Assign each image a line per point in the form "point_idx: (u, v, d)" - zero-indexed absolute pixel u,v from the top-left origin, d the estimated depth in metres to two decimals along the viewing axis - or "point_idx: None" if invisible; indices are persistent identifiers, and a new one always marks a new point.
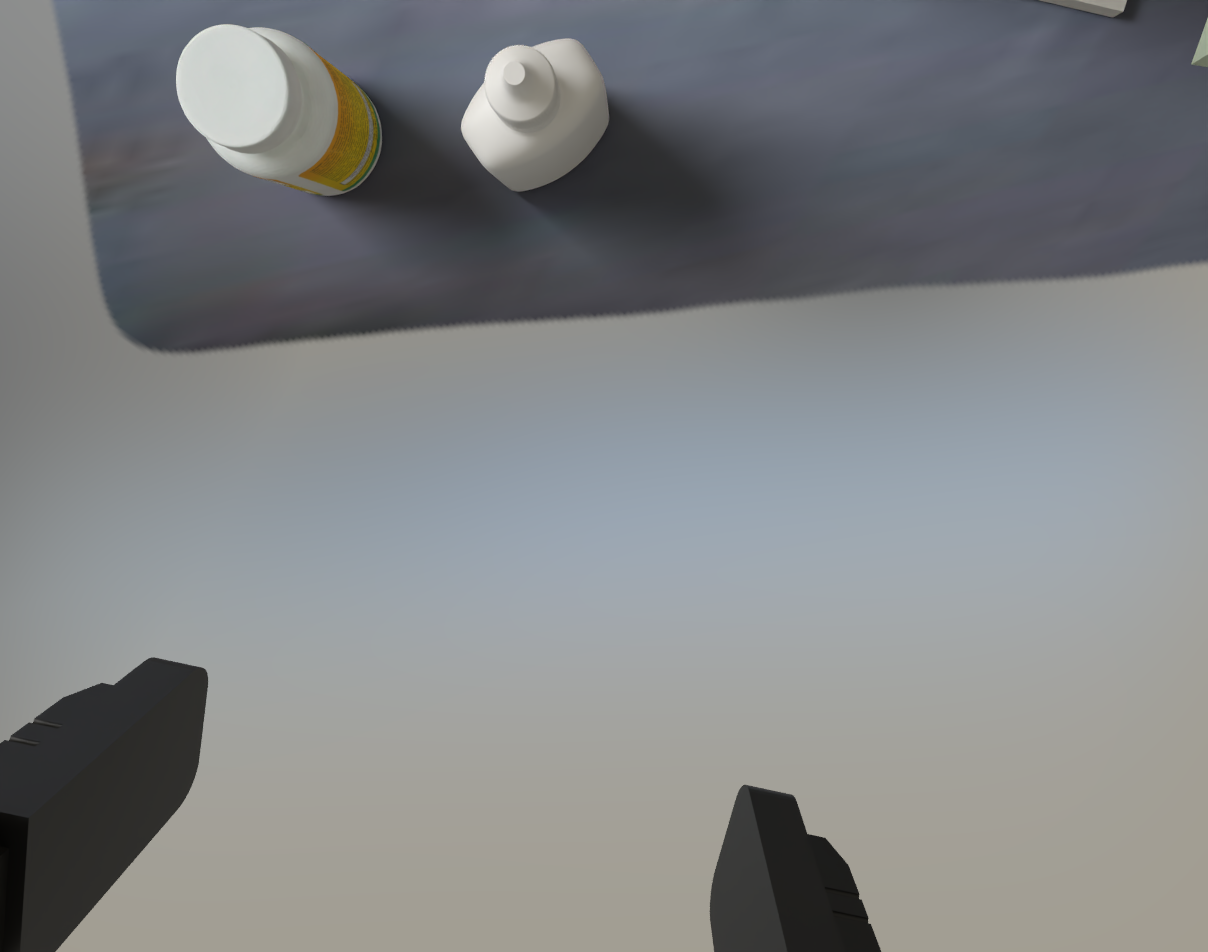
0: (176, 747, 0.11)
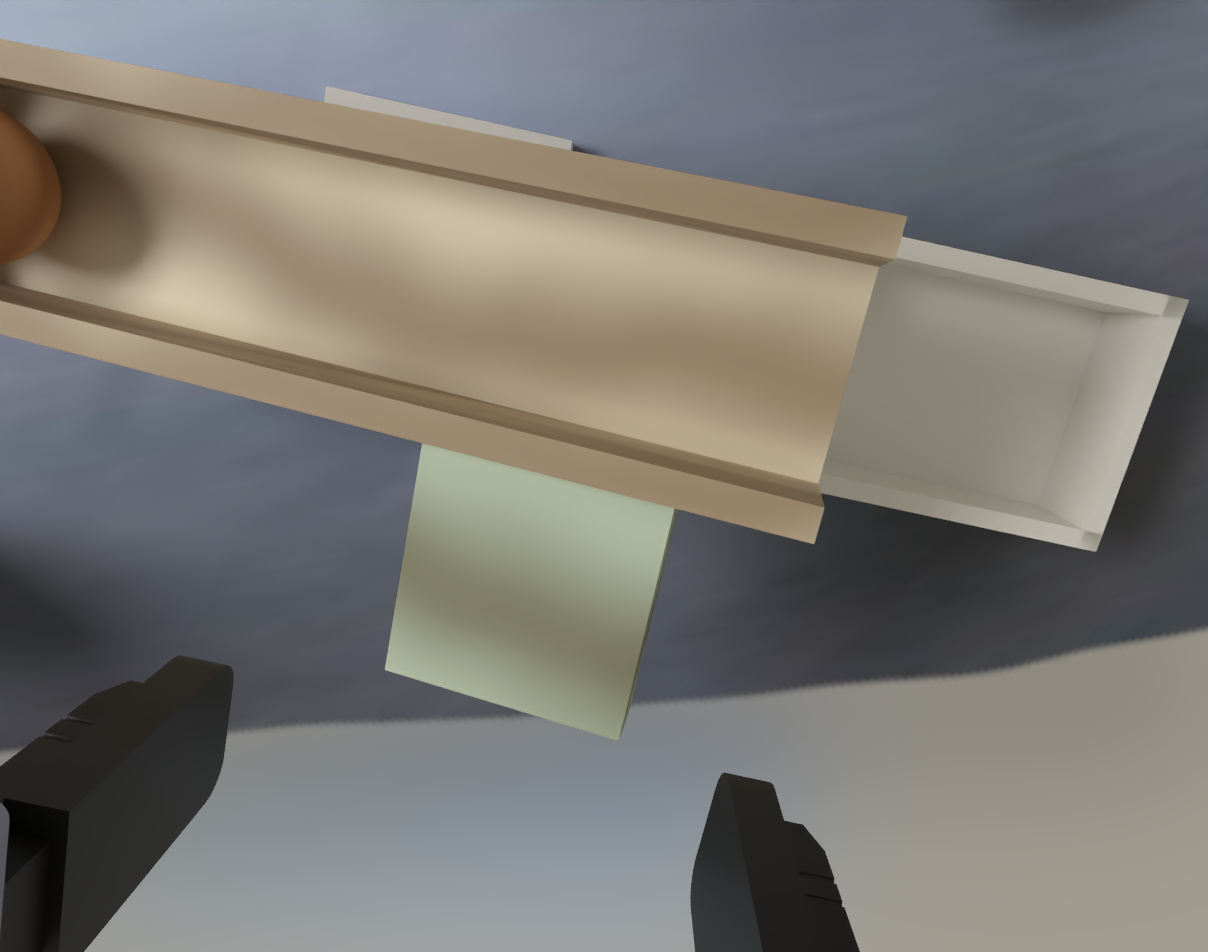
0: (202, 744, 0.12)
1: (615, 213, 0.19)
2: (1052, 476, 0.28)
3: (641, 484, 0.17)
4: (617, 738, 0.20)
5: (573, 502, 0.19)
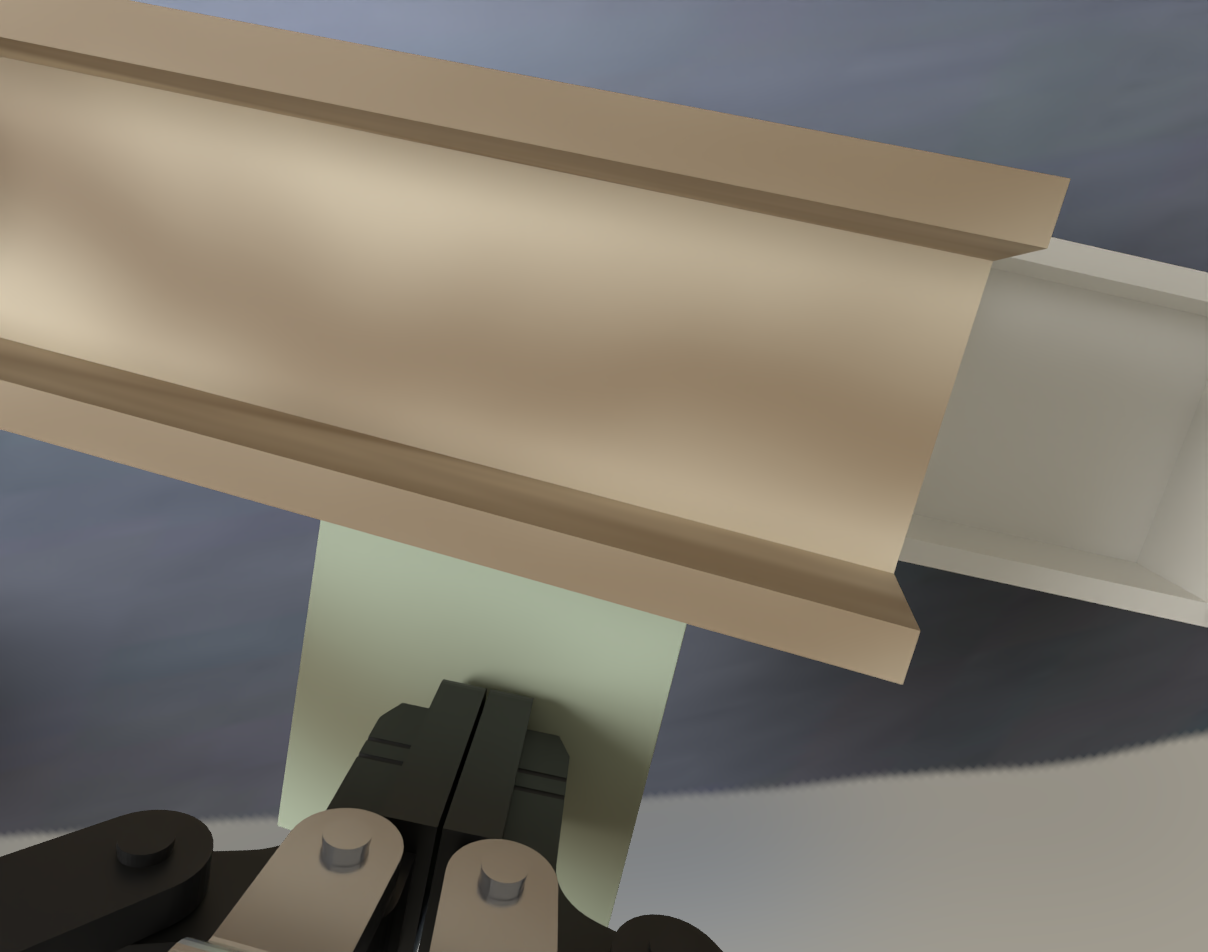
0: None
1: (602, 181, 0.13)
2: (1156, 528, 0.23)
3: (639, 587, 0.12)
4: None
5: (539, 604, 0.13)
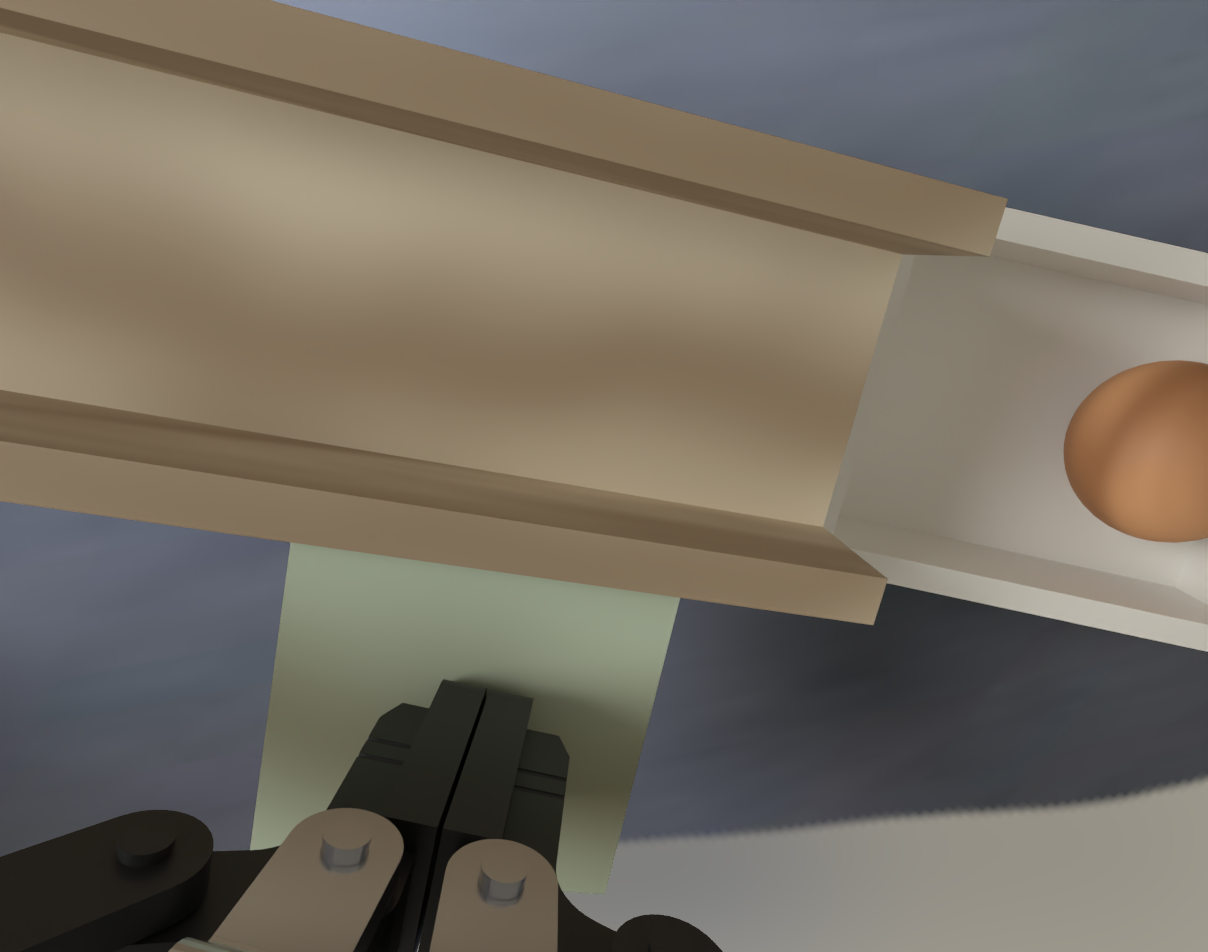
0: None
1: (560, 171, 0.13)
2: (1198, 549, 0.20)
3: (653, 573, 0.12)
4: (602, 890, 0.15)
5: (539, 599, 0.13)
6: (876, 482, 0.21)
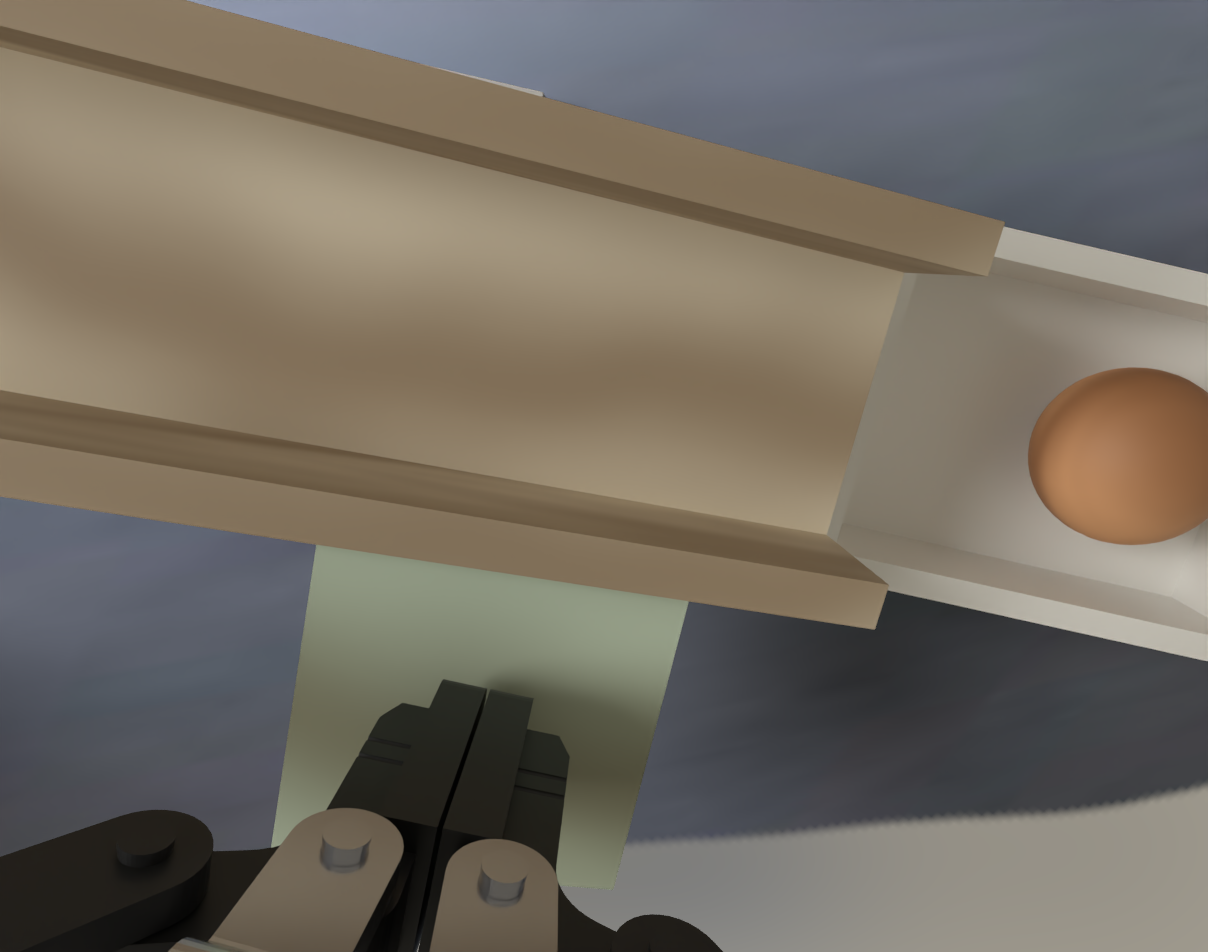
0: None
1: (576, 191, 0.14)
2: (1194, 560, 0.21)
3: (663, 577, 0.13)
4: (611, 886, 0.15)
5: (552, 602, 0.13)
6: (879, 492, 0.21)
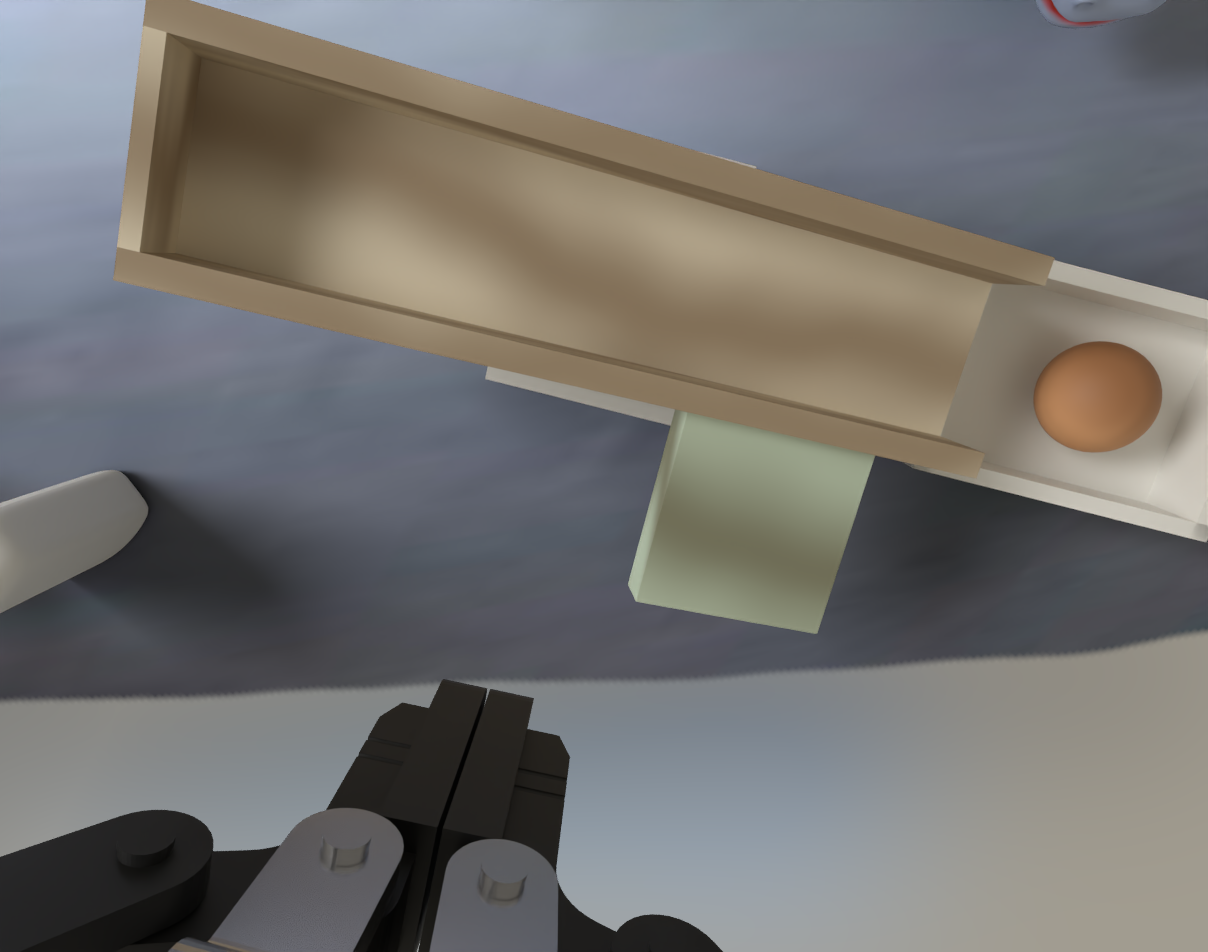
0: None
1: (818, 234, 0.25)
2: (1160, 477, 0.32)
3: (867, 442, 0.24)
4: (815, 632, 0.26)
5: (801, 457, 0.24)
6: (955, 428, 0.32)
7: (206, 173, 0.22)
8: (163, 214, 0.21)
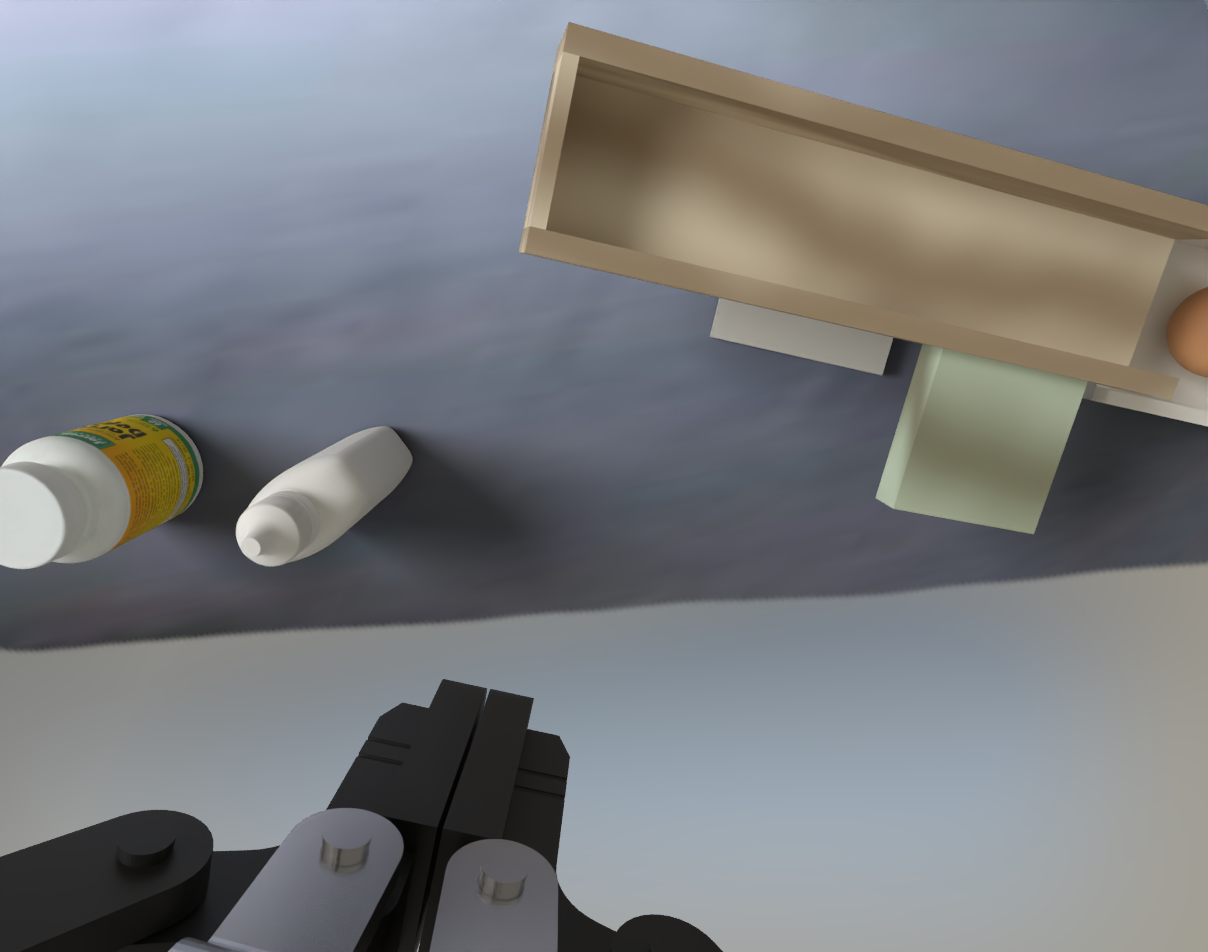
0: None
1: (1038, 202, 0.30)
2: None
3: (1087, 371, 0.29)
4: (1032, 532, 0.32)
5: (1029, 386, 0.30)
6: None
7: (567, 166, 0.27)
8: None
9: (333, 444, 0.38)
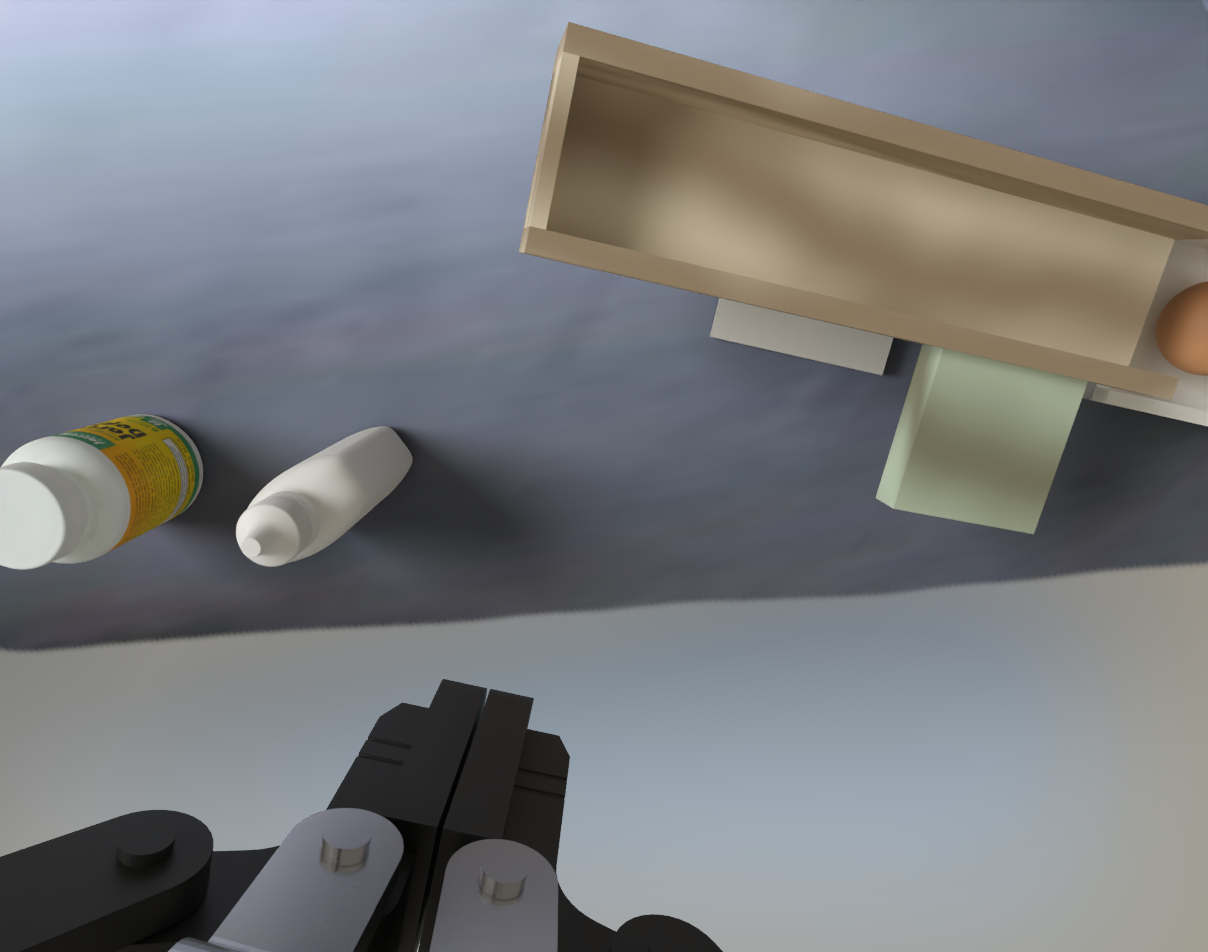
0: None
1: (1038, 202, 0.30)
2: None
3: (1087, 371, 0.29)
4: (1032, 532, 0.32)
5: (1029, 386, 0.30)
6: None
7: (567, 166, 0.27)
8: None
9: None
